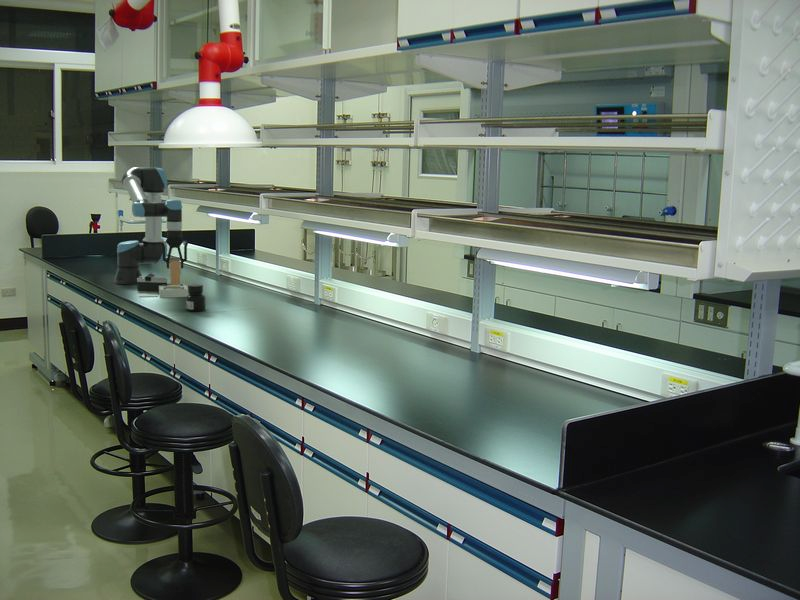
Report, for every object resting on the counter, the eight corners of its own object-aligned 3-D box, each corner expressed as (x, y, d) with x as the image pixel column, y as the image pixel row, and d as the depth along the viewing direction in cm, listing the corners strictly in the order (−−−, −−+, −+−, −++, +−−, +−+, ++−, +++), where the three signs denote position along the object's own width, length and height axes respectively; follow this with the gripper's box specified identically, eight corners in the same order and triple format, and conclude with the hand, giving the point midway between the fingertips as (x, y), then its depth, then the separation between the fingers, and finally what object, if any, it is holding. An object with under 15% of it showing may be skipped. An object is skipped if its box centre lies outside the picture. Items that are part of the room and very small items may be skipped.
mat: (139, 294, 418) (138, 293, 418) (157, 293, 421) (157, 293, 421) (139, 297, 410) (139, 296, 410) (157, 296, 413) (157, 296, 413)
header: (158, 293, 424) (158, 284, 423) (186, 292, 428) (186, 283, 427) (159, 297, 411) (159, 288, 410) (188, 296, 415) (187, 287, 414)
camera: (171, 291, 432) (170, 272, 431) (165, 293, 424) (165, 274, 422) (141, 290, 433) (141, 271, 431) (135, 292, 424) (135, 273, 423)
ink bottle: (184, 309, 382) (184, 284, 380) (203, 308, 385) (203, 283, 383) (187, 312, 373) (187, 287, 371) (206, 311, 376) (206, 286, 374)
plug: (170, 283, 420) (170, 257, 418) (179, 283, 422) (179, 257, 420) (170, 285, 416) (170, 258, 414) (180, 285, 418) (179, 258, 415)
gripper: (156, 230, 408) (157, 276, 412) (192, 230, 413) (193, 275, 417) (156, 229, 415) (157, 273, 419) (191, 229, 420) (192, 273, 424)
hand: (175, 274), depth 418 cm, fingers closed on plug, 4 cm apart
